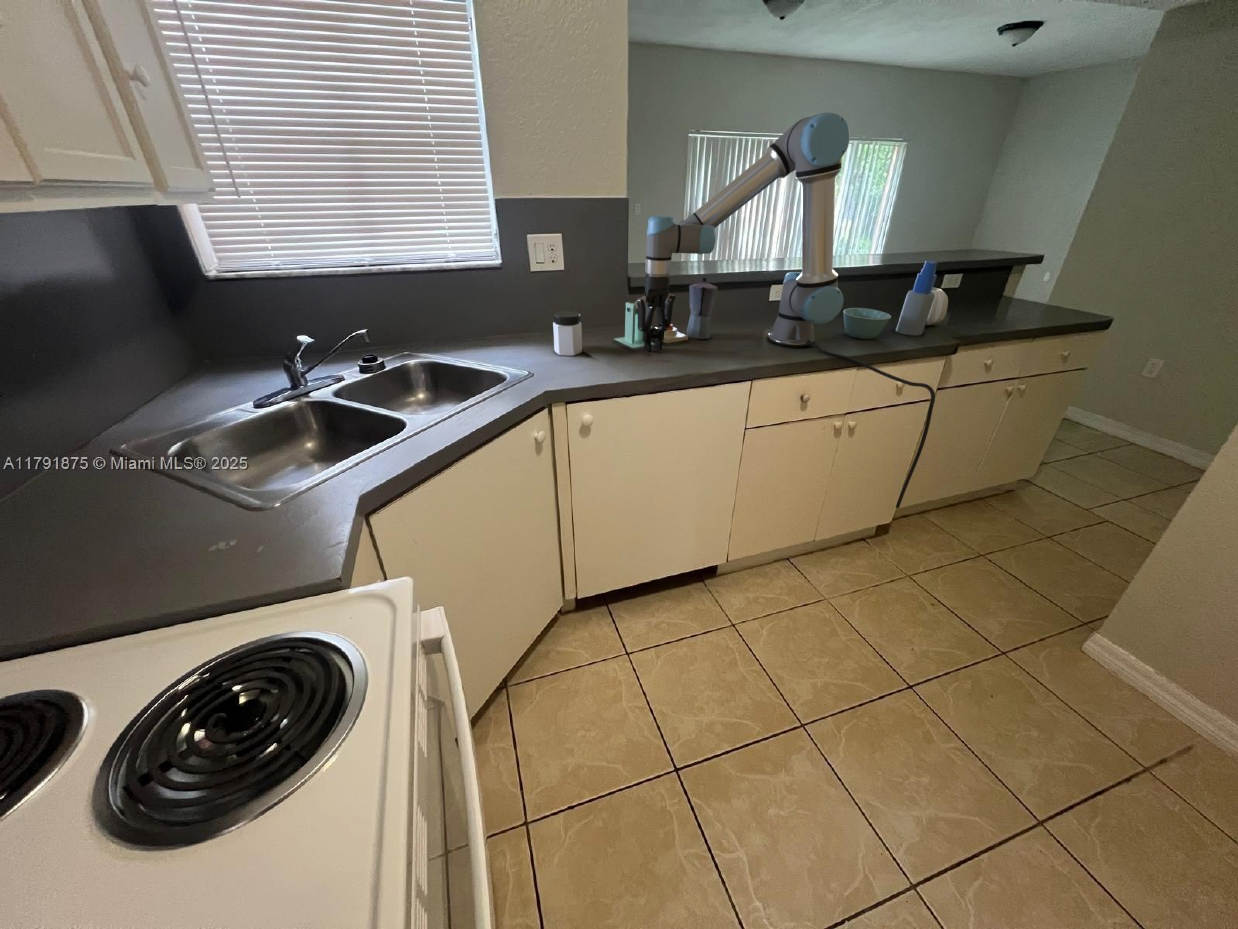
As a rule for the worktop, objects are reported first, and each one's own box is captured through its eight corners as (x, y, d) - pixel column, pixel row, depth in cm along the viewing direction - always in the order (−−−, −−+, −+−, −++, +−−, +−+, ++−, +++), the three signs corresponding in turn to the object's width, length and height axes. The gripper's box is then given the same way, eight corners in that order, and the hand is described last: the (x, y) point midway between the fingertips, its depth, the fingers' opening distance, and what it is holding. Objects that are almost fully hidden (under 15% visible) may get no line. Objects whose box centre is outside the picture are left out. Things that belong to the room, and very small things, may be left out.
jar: (585, 354, 154) (584, 316, 148) (561, 357, 151) (559, 318, 145) (575, 346, 161) (574, 309, 155) (551, 349, 158) (549, 311, 152)
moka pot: (710, 332, 179) (717, 274, 169) (713, 344, 166) (720, 283, 156) (684, 330, 180) (689, 273, 170) (685, 343, 167) (691, 281, 156)
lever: (659, 340, 154) (663, 331, 152) (650, 342, 153) (654, 333, 150) (636, 309, 161) (639, 300, 158) (627, 310, 159) (630, 301, 156)
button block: (687, 342, 167) (688, 331, 165) (666, 346, 163) (667, 334, 161) (666, 334, 176) (667, 322, 174) (646, 337, 172) (646, 326, 170)
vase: (911, 317, 204) (922, 283, 197) (947, 324, 195) (959, 289, 188) (896, 322, 196) (907, 287, 190) (933, 329, 187) (945, 293, 180)
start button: (674, 330, 167) (675, 325, 166) (666, 331, 165) (666, 326, 164) (668, 327, 170) (668, 322, 169) (660, 329, 168) (660, 323, 167)
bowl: (893, 337, 176) (900, 314, 172) (868, 344, 169) (875, 320, 164) (854, 327, 187) (860, 306, 183) (829, 333, 180) (834, 311, 176)
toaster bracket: (655, 347, 162) (657, 304, 155) (633, 351, 158) (634, 308, 150) (635, 338, 170) (636, 297, 163) (613, 342, 166) (614, 300, 159)
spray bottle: (897, 327, 189) (918, 258, 176) (923, 331, 185) (946, 261, 172) (894, 332, 182) (916, 261, 170) (921, 336, 178) (945, 264, 166)
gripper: (672, 270, 150) (666, 344, 163) (627, 274, 143) (624, 351, 155) (687, 274, 145) (680, 350, 157) (641, 278, 137) (637, 358, 149)
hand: (652, 351), depth 156 cm, fingers closed on lever, 4 cm apart
